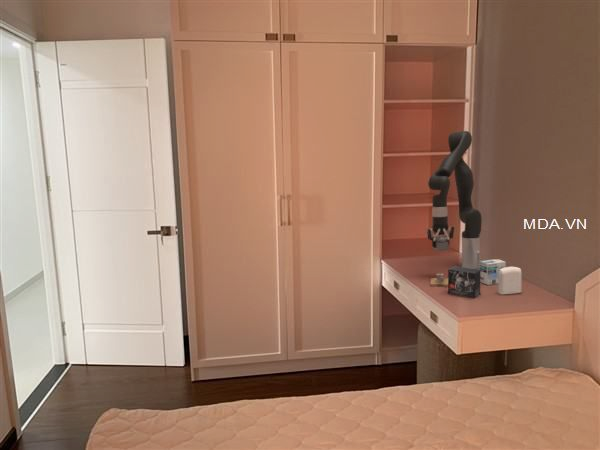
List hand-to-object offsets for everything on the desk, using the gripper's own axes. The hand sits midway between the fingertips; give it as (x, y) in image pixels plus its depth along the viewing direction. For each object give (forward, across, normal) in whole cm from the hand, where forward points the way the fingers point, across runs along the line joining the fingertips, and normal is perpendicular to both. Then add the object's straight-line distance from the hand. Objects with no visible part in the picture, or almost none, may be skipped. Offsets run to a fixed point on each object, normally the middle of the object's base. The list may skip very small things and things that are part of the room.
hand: (440, 247), depth 248 cm
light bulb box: (+17, -21, +13) cm, 30 cm away
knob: (+1, 0, 0) cm, 1 cm away
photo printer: (+17, -21, +31) cm, 41 cm away
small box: (+17, 0, +28) cm, 33 cm away
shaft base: (+16, +3, +10) cm, 19 cm away
